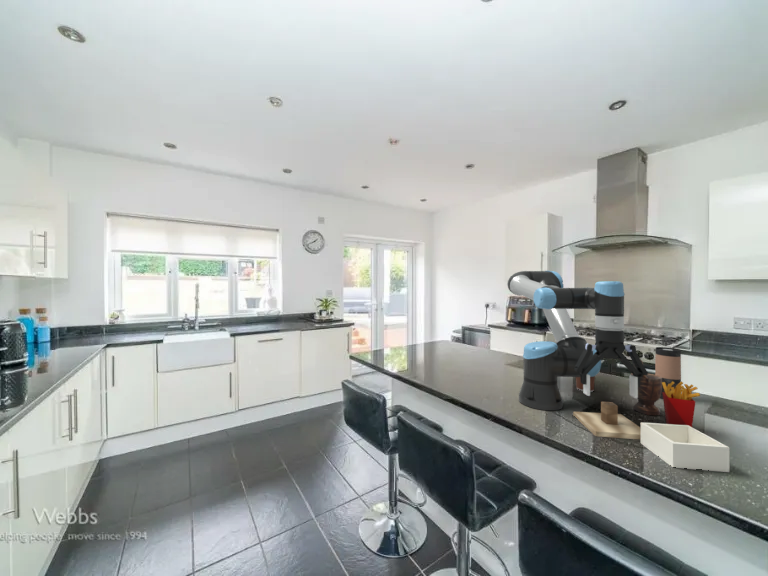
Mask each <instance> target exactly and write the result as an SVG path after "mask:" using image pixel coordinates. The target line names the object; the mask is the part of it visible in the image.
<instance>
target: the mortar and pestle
mask: <svg viewBox="0 0 768 576" xmlns="http://www.w3.org/2000/svg"><path fill="white" fill-rule="evenodd" d="M640 360H641V362H642V363H643V364H644V362H643V360H642V359H641V358H640ZM631 364H632V365H633V366H634V367H635V368H636V366H635V365H634V363H633V361H632V360H631ZM636 369H637V368H636ZM630 375H633V374H632V373H631V372H630ZM661 391H662V377H660V376H658V375H655V374H653V373H648V374H647V375H643V377H642V378H640V387H638V398H636V399H637V402H636V403H635V404H634V405H633V407H632V409H633V410H634V411H636V412H638V413H640V414H643V415H645V416H646V415H647V416H660V415H661V410H660V409H659V407H657V405H655V403H656V402H657V401H659V400H660V396H661Z"/></svg>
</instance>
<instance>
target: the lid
mask: <svg viewBox="0 0 768 576" xmlns="http://www.w3.org/2000/svg"><path fill="white" fill-rule="evenodd" d="M618 409H619V406H618V405H617V404H616V403H614V402H613V401H600V412H588V411H587V412H586V411H573V412H572V413H573V414H572V415H573V417H574V416H575V417H576V418H577V419H578V420H577V419H576V420H577V421H578V422H580V423H581V424H582V425H583V426H584V427H585V428H586V429H587V430H588V431H589V432H591V434H593V436H595V437H598V438H599V437H600V438H602V437H603V438H613V439H614V438H616V439H626V440H627V439H630V440H640V441H641V426H639V425H638V424H636V423H635V422H633V421H632V420H630V419H628V418H627V417H626V416H624V415H623V414H621V413H619V411H618ZM575 417H574V418H575Z"/></svg>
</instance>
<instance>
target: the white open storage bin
mask: <svg viewBox="0 0 768 576" xmlns="http://www.w3.org/2000/svg"><path fill="white" fill-rule="evenodd" d="M640 427H641V440H640V444H641V445H642V446H644V447H645V448H646V449H648V450H649V451H650V452H652V453H653V454H654V455H655V456H657V457H658V456H659V457H658V458H659V459H661V460H662V461H663V462H665V463H666V464H667V465H669V466H670V465H671V466H670V467H672V468H673V467H676V468H675V469H684V468H687V470H696V469H702V470H701V471H708V470H709V472H719V473H720V472H722V473H723V472H724V473H730V447H729V446H728V445H726V444H725V443H724V444H723V443H722V442H720V441H718V440H716V439H715V438H713V437H711V436H709V435H707V434H705V433H703V432H701V431H699V430H698V429H696V428H694V427H693V426H692V427H690V426H689V425H674V424H667V423H657V422H640Z"/></svg>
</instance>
